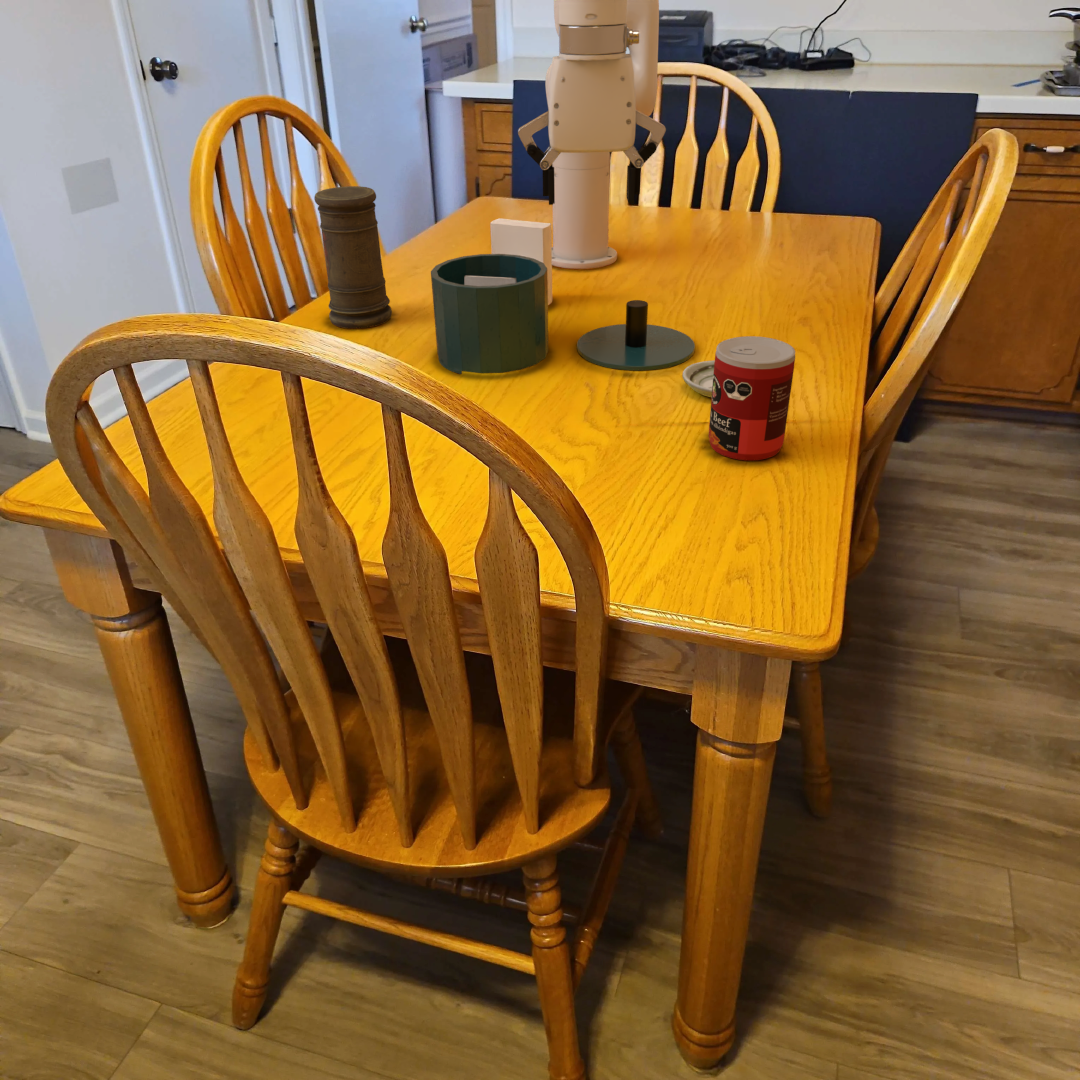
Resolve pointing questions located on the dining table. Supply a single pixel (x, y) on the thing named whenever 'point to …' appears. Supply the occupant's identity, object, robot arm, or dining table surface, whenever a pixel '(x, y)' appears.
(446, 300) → the pot
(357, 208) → the container
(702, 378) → the saucer
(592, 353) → the lid
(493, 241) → the base with upright slab
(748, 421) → the canned food
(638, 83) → the robot arm
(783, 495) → the dining table surface
